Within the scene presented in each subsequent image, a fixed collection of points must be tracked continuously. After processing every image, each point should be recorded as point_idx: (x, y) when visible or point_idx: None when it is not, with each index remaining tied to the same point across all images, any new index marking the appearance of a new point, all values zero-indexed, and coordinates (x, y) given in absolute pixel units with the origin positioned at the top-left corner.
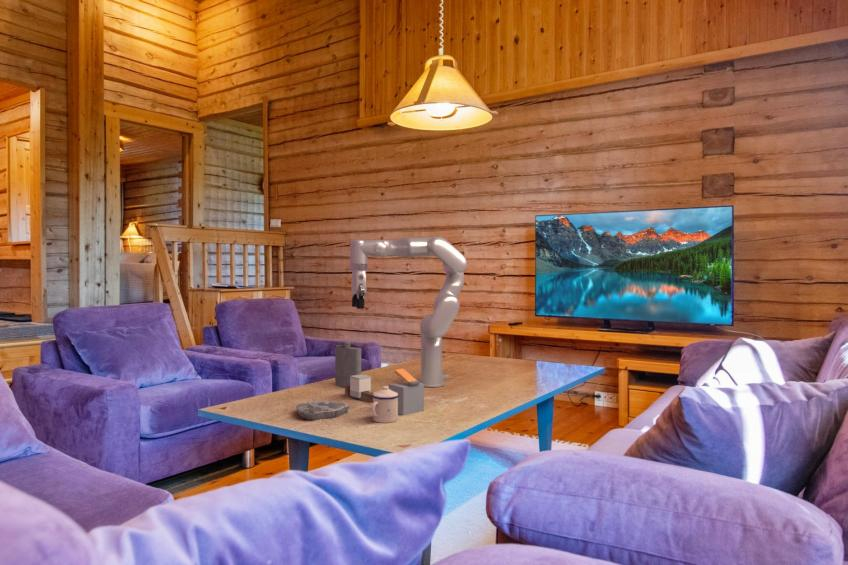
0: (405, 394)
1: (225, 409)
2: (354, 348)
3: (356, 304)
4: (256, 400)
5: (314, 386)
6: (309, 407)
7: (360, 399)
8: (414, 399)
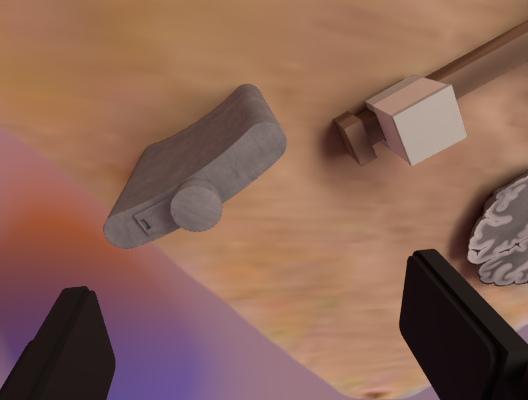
0: None
1: (388, 391)
2: (255, 160)
3: (94, 345)
4: (326, 354)
5: (179, 234)
6: (522, 259)
7: None
8: None
